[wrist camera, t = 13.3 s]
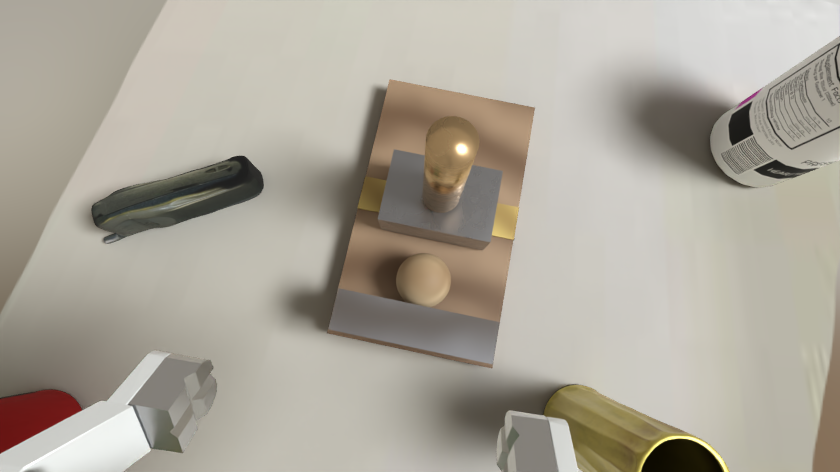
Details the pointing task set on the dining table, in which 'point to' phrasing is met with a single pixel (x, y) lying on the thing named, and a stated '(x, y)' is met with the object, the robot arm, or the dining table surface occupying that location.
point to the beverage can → (32, 414)
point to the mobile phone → (177, 198)
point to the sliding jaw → (442, 189)
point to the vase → (627, 437)
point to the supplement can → (784, 124)
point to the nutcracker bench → (427, 259)
